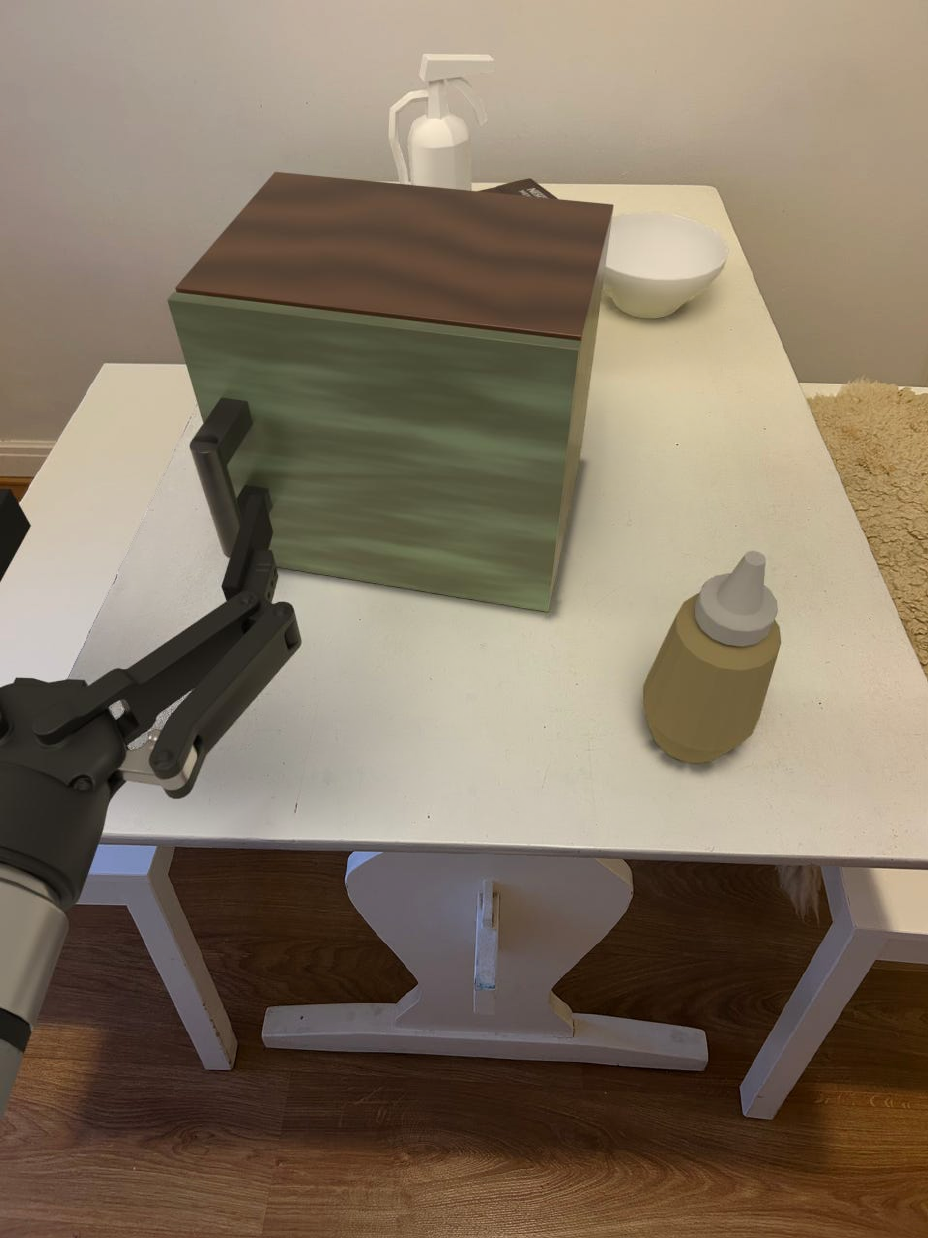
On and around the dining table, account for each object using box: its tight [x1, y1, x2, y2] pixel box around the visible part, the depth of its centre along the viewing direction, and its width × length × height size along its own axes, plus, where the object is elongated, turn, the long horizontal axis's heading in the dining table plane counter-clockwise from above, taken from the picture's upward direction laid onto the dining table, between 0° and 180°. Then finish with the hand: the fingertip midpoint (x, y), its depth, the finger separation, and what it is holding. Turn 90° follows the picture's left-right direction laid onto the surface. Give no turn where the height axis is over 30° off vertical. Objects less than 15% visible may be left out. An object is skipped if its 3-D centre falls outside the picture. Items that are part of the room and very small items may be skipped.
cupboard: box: [174, 171, 614, 602], centre depth 67 cm, size 18×26×24 cm
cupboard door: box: [166, 291, 581, 613], centre depth 59 cm, size 7×26×24 cm, turn 77°
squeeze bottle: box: [642, 550, 782, 764], centre depth 54 cm, size 8×8×18 cm
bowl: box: [603, 211, 730, 320], centre depth 96 cm, size 16×16×7 cm
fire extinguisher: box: [387, 53, 496, 191], centre depth 90 cm, size 7×12×25 cm, turn 104°
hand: (137, 510), depth 45 cm, fingers open, 13 cm apart
